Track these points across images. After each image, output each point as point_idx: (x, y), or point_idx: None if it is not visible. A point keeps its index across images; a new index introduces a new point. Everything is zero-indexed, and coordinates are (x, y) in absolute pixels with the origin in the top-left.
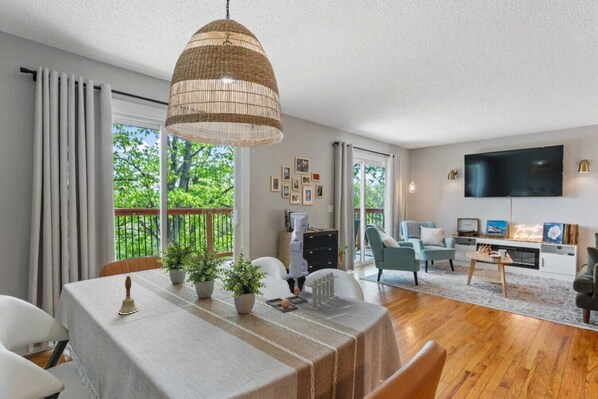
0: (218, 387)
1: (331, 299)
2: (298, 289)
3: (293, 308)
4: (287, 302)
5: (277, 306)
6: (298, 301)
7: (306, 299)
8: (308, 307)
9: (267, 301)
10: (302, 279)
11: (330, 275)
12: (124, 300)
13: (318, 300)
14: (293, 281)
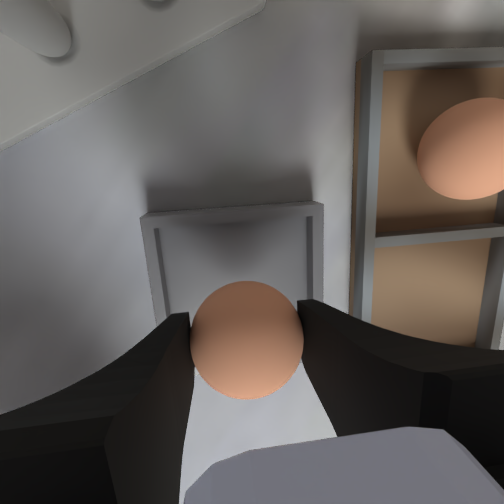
0: None
1: None
2: (234, 314)
3: (422, 51)
4: (502, 100)
5: None
6: (264, 208)
7: (151, 216)
8: (248, 8)
9: (496, 344)
10: (119, 430)
11: None
12: None
13: (53, 11)
14: (492, 362)
